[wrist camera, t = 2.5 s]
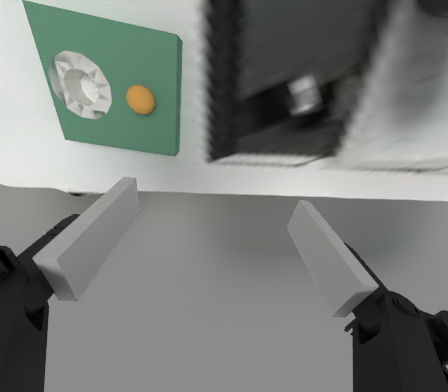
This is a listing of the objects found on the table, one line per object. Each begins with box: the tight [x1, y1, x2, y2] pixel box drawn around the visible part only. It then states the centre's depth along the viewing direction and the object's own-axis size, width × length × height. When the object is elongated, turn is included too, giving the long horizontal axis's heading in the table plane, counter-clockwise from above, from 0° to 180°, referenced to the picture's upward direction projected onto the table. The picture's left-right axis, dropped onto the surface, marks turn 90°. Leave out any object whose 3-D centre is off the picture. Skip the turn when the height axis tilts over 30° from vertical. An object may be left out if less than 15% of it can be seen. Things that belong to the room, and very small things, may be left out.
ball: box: [126, 85, 155, 114], centre depth 27 cm, size 4×4×4 cm
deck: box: [22, 0, 182, 156], centre depth 30 cm, size 18×20×4 cm
